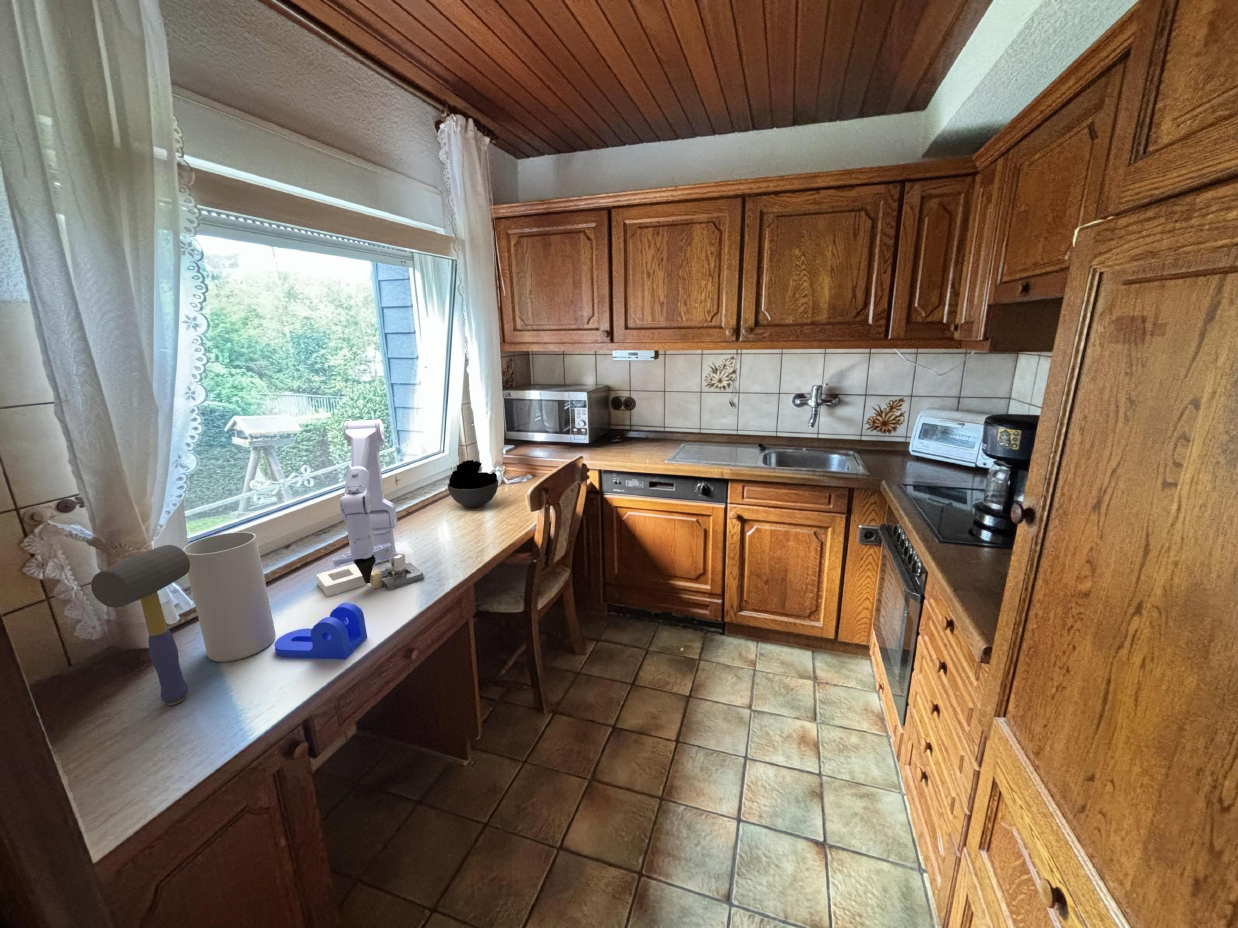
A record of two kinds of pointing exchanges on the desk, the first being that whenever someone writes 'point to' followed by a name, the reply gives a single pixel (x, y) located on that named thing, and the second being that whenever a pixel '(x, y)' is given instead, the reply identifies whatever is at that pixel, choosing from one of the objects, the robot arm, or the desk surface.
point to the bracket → (326, 636)
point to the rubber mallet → (149, 606)
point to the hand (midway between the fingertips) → (367, 582)
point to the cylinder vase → (230, 595)
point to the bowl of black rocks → (472, 484)
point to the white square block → (340, 580)
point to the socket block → (401, 577)
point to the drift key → (376, 579)
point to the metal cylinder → (398, 565)
